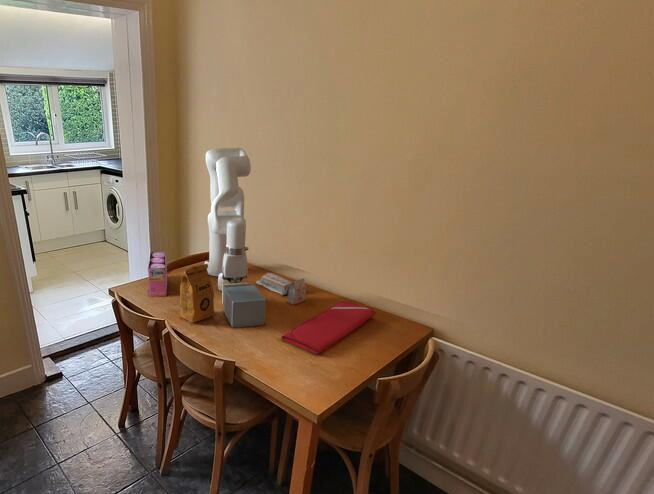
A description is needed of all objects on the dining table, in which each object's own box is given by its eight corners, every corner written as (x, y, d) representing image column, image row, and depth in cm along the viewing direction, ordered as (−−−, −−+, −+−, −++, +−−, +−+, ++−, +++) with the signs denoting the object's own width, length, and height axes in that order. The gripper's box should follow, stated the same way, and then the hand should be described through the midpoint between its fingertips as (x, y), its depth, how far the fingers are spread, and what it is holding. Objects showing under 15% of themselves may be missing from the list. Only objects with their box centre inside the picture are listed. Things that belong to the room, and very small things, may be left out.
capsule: (215, 288, 191) (215, 272, 188) (224, 285, 194) (224, 269, 191) (222, 291, 187) (223, 275, 184) (231, 289, 190) (232, 273, 187)
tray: (219, 298, 179) (219, 279, 175) (244, 296, 180) (245, 277, 177) (229, 317, 162) (230, 297, 158) (257, 315, 164) (258, 294, 160)
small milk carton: (287, 301, 177) (289, 280, 173) (298, 298, 180) (300, 276, 176) (293, 304, 174) (295, 282, 170) (304, 300, 177) (307, 279, 173)
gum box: (151, 277, 205) (150, 251, 200) (167, 276, 206) (166, 250, 200) (149, 296, 184) (147, 267, 178) (166, 296, 184) (165, 267, 178)
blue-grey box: (223, 311, 169) (224, 287, 165) (253, 308, 171) (254, 285, 166) (232, 327, 156) (233, 302, 152) (264, 324, 158) (265, 299, 153)
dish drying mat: (280, 339, 148) (280, 330, 146) (339, 306, 172) (340, 298, 171) (318, 356, 137) (319, 347, 135) (376, 318, 162) (377, 309, 160)
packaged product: (299, 281, 185) (283, 286, 180) (298, 291, 187) (282, 296, 182) (271, 270, 199) (256, 274, 194) (270, 279, 201) (255, 283, 196)
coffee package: (217, 317, 164) (218, 265, 154) (192, 326, 157) (191, 272, 148) (202, 309, 171) (202, 259, 162) (177, 317, 165) (176, 265, 155)
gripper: (250, 246, 172) (248, 287, 180) (215, 248, 170) (215, 289, 178) (256, 252, 165) (253, 293, 173) (219, 254, 163) (218, 296, 171)
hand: (234, 291), depth 175 cm, fingers closed
